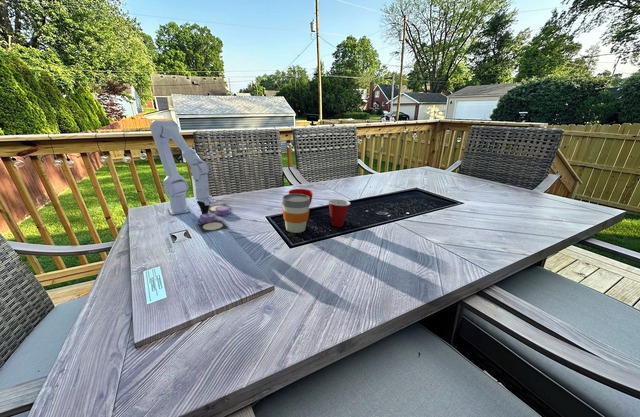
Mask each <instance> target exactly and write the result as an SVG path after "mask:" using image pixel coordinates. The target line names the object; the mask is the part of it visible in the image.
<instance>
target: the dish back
mask: <svg viewBox="0 0 640 417" xmlns="http://www.w3.org/2000/svg"><path fill="white" fill-rule="evenodd" d="M230 209H231V207H230V206H228V205H226V206H220V207H217V208H215V211H216V212H215V215H216V216H228V215H229V214H231V210H230Z"/></svg>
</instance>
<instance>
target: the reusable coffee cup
mask: <svg viewBox="0 0 640 417" xmlns="http://www.w3.org/2000/svg"><path fill="white" fill-rule="evenodd" d="M281 204H282V217H283V220H284V224H285V231H287V232H289V233H294V234H297V233H298V234H300V233H302V232H305V231H306V228H307V224H308V223H307V222H308V220H309V216H310V206H311V204H310V197H309V196H307V195H304V194H289V193H287V194H284V195H283V196H282V200H281ZM309 205H310V206H309Z"/></svg>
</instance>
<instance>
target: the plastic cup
mask: <svg viewBox="0 0 640 417" xmlns="http://www.w3.org/2000/svg"><path fill="white" fill-rule="evenodd" d="M327 204H328V208H329V218H330V224H331V226H332V227H334V228H341V227H343V226H344V225H345V224H344V223H345V220H346V218H347V213H348V210H349V207H350V206H351V202H350V201H348V200H346V199H345V200H344V199H338V198H336V199H335V198H333V199H328V200H327Z"/></svg>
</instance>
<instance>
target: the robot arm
mask: <svg viewBox="0 0 640 417" xmlns="http://www.w3.org/2000/svg"><path fill="white" fill-rule="evenodd" d="M149 130H150V133H151V135H152V138H153V141H154V144H155V147H156V149H157V153H158V156H159V159H160V161H161V164H162V167H163V170H164V174H165V178H164V179H163V181H162V184H163V192H164V193H165V195H166V196H167V197H168V198H169V199H168V200H169V206H170V207H169V208H168V211H169V213H170V214H171V215H172V216H174V215H180V214H187V213H190V210H189V209H188V206H187V196H186V194H187V192H188V190H189V185H188V183H187V181H186V179H185V177H184V176H183V175H181V174H179V171H178V168H177V166H176V162H175V159H174V155H173V152H172V149H171V147H170V146H171V145H170V143H169V142H170V140H172V142H173V143H174V144H175V145H176V146H177V147H178V148H179V150H180V151H181V157H182V158H183V159H184V160H185V161H186V163H187V164H188V166H189V167H190V169H189V171H190V173H191V175H192V178H193V180H194V188H195V195H196V197H195V200H196V203H197V205H198V206H199V209H200V211H201V214H205V213H209V210H208V209H209V206H211V205H212V204H211V203H212V202H211V199H213V195H210V186H209V177H208V175H209V173H210V171H211V169H210V165H209V163H208V162H207V161H204V159H203V160H202V159H201V157H200V156H199V155H198V153H197V152H196V150H195V149H194V148H190V146H188V143H187V142H186V141H185V139H184V137H183V135H182V134H181V133H180V127H179V126H178V124H177V123H176V121H175V120H172V119H171V120H157V119H154V120H151V123H150V125H149Z"/></svg>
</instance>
